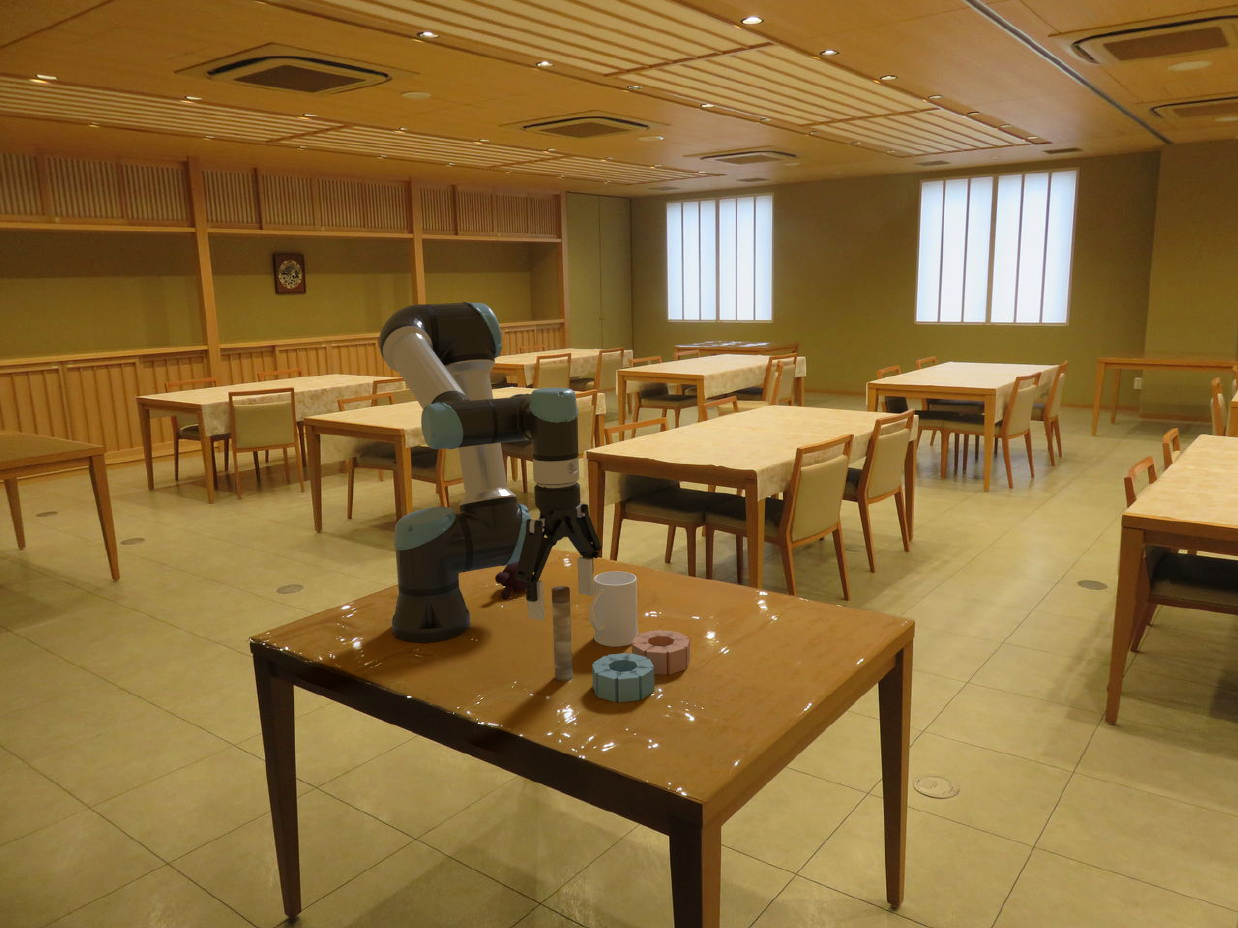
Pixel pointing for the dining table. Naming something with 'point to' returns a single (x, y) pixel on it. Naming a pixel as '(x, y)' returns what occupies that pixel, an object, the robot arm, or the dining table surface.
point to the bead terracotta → (663, 650)
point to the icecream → (509, 580)
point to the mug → (614, 608)
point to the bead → (623, 677)
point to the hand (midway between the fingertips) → (562, 606)
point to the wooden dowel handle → (562, 633)
